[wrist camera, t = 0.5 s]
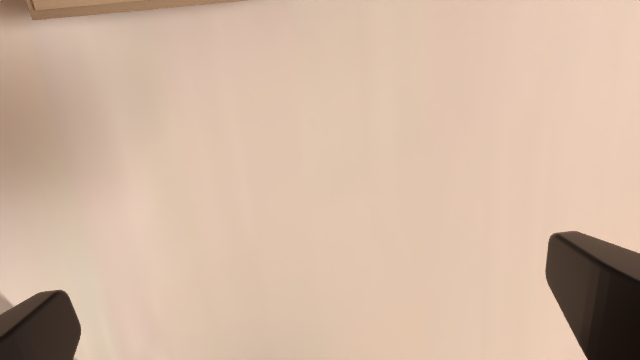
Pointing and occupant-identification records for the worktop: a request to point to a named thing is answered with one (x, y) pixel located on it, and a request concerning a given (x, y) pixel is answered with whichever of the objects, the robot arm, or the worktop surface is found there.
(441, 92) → the worktop surface
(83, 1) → the square wooden tray
